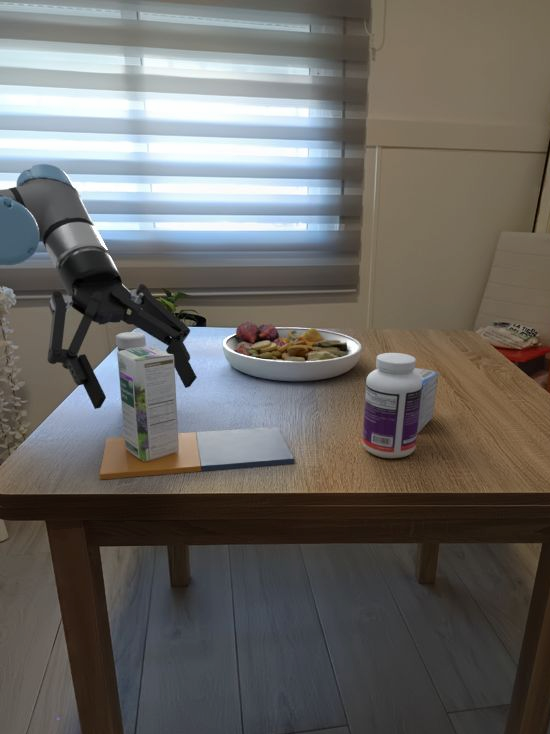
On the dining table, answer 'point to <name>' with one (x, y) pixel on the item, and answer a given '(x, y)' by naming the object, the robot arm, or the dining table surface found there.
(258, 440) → the sorting board
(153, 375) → the syrup box
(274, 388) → the dining table surface
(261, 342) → the bowl
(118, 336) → the sprinkles bottle
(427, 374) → the medicine box
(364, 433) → the pill bottle
